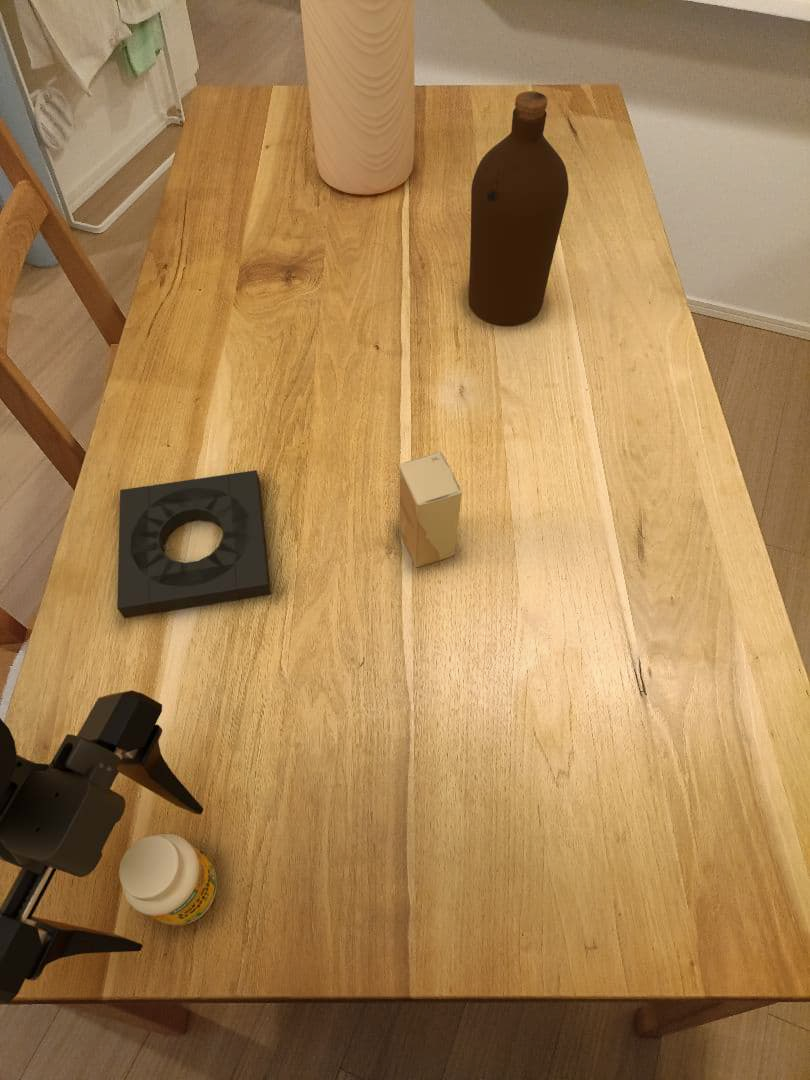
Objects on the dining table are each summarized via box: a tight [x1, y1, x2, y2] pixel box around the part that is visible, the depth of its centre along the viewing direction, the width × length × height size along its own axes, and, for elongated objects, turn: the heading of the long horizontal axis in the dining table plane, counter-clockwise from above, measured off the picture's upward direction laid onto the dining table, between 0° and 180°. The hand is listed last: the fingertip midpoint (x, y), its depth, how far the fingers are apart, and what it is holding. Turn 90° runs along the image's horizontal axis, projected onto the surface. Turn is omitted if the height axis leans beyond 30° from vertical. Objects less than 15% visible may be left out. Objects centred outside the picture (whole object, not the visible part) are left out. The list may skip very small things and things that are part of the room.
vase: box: [300, 0, 415, 196], centre depth 100 cm, size 14×14×32 cm
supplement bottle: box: [118, 833, 218, 926], centre depth 56 cm, size 5×5×10 cm
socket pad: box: [116, 469, 272, 619], centre depth 76 cm, size 14×14×2 cm
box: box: [398, 451, 463, 568], centre depth 73 cm, size 5×4×11 cm
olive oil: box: [467, 90, 570, 327], centre depth 87 cm, size 11×11×25 cm
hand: (171, 876), depth 54 cm, fingers open, 9 cm apart
